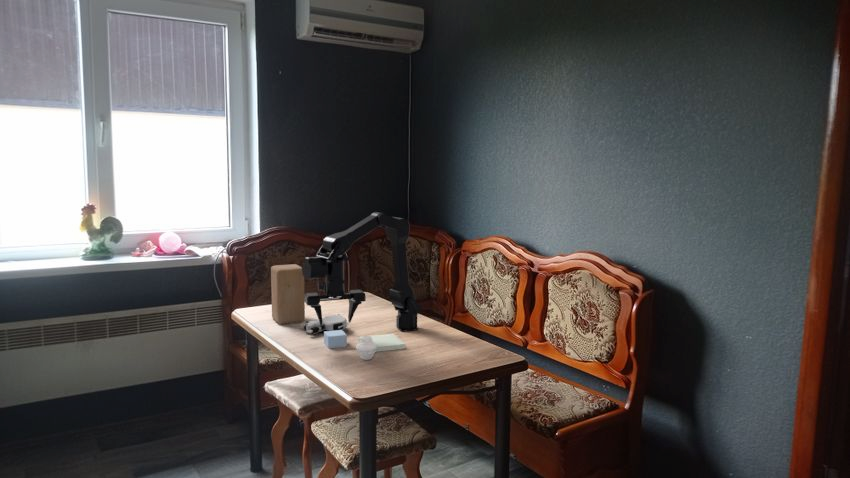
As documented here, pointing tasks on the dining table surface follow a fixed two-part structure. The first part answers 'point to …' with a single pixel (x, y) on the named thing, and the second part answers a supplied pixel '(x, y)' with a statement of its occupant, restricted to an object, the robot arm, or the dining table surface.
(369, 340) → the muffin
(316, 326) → the robot toy
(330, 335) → the brick
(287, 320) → the wooden block
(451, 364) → the dining table surface
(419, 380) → the dining table surface
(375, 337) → the pale green square slab
